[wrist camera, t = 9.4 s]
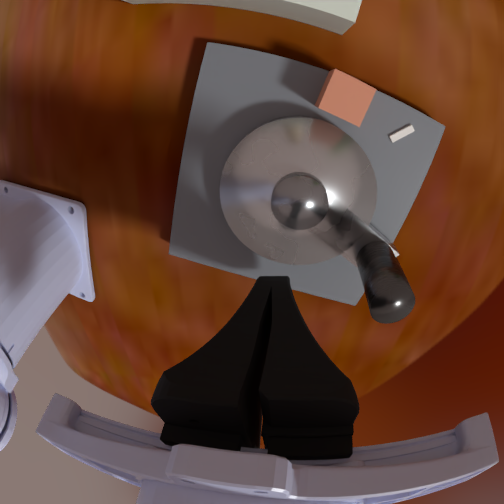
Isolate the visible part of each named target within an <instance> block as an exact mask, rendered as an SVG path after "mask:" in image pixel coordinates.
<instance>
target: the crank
mask: <svg viewBox="0 0 504 504" xmlns="http://www.w3.org/2000/svg"><path fill="white" fill-rule="evenodd" d="M220 201H221V207H222V210H223V214H224V217H225V219H226V221H227V223H228V225H229V227H230V228H231V230H232V231H233V233H234V234H235V235H236V236H237V238H238V239H239V240H240V241H241V242H242V243H243V244H244V245H245V246H247V247H248V248H249V249H251V250H252V251H253V252H255V253H257V254H259V255H260V256H262V257H264V258H267V259H269V260H272V261H275V262H279V263H284V264H290V265H309V264H316V263H320V262H323V261H327V260H329V259H332V258H334V257H336V256H338V255H342V256H343V257H344V258H346V259H347V260H348V261H349V262H351V263H352V264H353V265H355V266H356V267H357V268H358V270H359V273H360V276H361V280H362V283H363V287H364V291H365V294H366V298H367V302H368V305H369V309H370V313H371V316H372V318H373V319H374V320H375V321H377V322H380V323H393V322H397V321H399V320H401V319H403V318H404V317H406V316H407V315H408V314H409V313H410V312H411V310H412V309H413V307H414V304H415V296H414V294H413V292H412V289H411V287H410V285H409V283H408V281H407V278H406V276H405V274H404V272H403V270H402V268H401V266H400V264H399V262H398V260H397V258H396V257H397V256H398V255H399V253H398V251H397V249H396V247H395V245H394V244H393V243H391V242H390V241H389V240H388V239H387V238H386V237H385V236H384V235H383V234H382V233H381V232H379V231H378V230H377V229H376V228H375V227H374V226H373V225H372V224H370V222H371V220H372V218H373V215H374V212H375V208H376V203H377V182H376V177H375V173H374V170H373V167H372V165H371V162H370V161H369V159H368V157H367V155H366V153H365V152H364V151H363V149H362V148H361V147H360V146H359V144H358V143H357V142H356V141H355V140H354V139H353V138H351V137H350V136H349V135H348V134H347V133H345V132H344V131H342V130H341V129H340V128H338V127H336V126H334V125H333V124H331V123H328V122H326V121H323V120H320V119H316V118H312V117H304V116H290V117H283V118H278V119H275V120H272V121H269V122H266V123H264V124H262V125H260V126H258V127H257V128H255V129H254V130H253V131H251V132H250V133H249V134H247V135H246V136H245V137H244V138H243V139H242V140H241V141H240V142H239V144H238V145H237V146H236V147H235V148H234V150H233V151H232V153H231V154H230V156H229V158H228V159H227V161H226V164H225V166H224V169H223V172H222V176H221V181H220Z"/></svg>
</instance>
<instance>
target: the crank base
mask: <svg viewBox="0 0 504 504" xmlns="http://www.w3.org/2000/svg"><path fill="white" fill-rule="evenodd" d="M290 116H304V117H312V118H316V119H320V120H323V121H326V122H328V123H331V124H333V125H334V126H336V127H338V128H340V129H341V130H342V131H344V132H345V133H347V134H348V135H349V136H350V137H351V138H353V139H354V140H355V141H356V142H357V143H358V144H359V146H360V147H361V148H362V149H363V151H364V152H365V153H366V155H367V157H368V159H369V161H370V162H371V165H372V167H373V170H374V173H375V177H376V182H377V203H376V208H375V212H374V215H373V218H372V220H371V222H370V224H372V225H373V226H374V227H375V228H376V229H377V230H378V231H379V232H381V233H382V234H383V235H384V236H385V237H386V238H387V239H388V240H389V241H390V242H391V243H393V241H394V240H395V238H396V236H397V234H398V232H399V230H400V228H401V226H402V224H403V222H404V221H405V219H406V217H407V215H408V213H409V211H410V209H411V206H412V204H413V202H414V200H415V198H416V196H417V194H418V192H419V190H420V187H421V185H422V183H423V181H424V179H425V176H426V174H427V172H428V169H429V167H430V165H431V162H432V160H433V158H434V155H435V153H436V150H437V148H438V145H439V142H440V140H441V137H442V135H443V132H444V129H445V126H443V125H442V124H440V123H438V122H437V121H435V120H433V119H432V118H430V117H428V116H426V115H425V114H423V113H421V112H419V111H417V110H416V109H414V108H412V107H410V106H408V105H406V104H404V103H402V102H400V101H398V100H396V99H394V98H392V97H390V96H388V95H386V94H384V93H382V92H379V91H377V89H375V88H373V87H371V86H369V85H367V84H366V83H364V82H362V81H360V80H358V79H356V78H354V77H352V76H350V75H348V74H345V73H343V72H341V71H339V70H337V69H333V70H331V71H327V70H324V69H321V68H318V67H315V66H312V65H309V64H306V63H302V62H299V61H295V60H292V59H288V58H285V57H281V56H277V55H273V54H269V53H265V52H260V51H256V50H251V49H246V48H241V47H236V46H230V45H224V44H217V43H211V42H207V46H206V50H205V53H204V57H203V61H202V65H201V69H200V73H199V77H198V81H197V85H196V90H195V94H194V98H193V103H192V107H191V112H190V117H189V122H188V127H187V132H186V137H185V143H184V148H183V154H182V159H181V165H180V172H179V178H178V184H177V191H176V198H175V205H174V213H173V221H172V229H171V238H170V247H169V254H171V255H174V256H177V257H181V258H184V259H187V260H191V261H194V262H198V263H201V264H204V265H208V266H211V267H215V268H218V269H222V270H225V271H229V272H232V273H236V274H239V275H243V276H246V277H250V278H253V279H258V277H260V276H288V277H289V278H290V285H291V289H293V290H297V291H301V292H305V293H308V294H312V295H316V296H320V297H323V298H327V299H331V300H335V301H339V302H343V303H347V304H351V305H355V306H356V304H357V302H358V301H359V299H360V298H361V296H362V295H363V293H364V287H363V283H362V280H361V276H360V273H359V270H358V268H357V267H356V266H355V265H353V264H352V263H351V262H349V261H348V260H347V259H346V258H344V257H343V256H342V255H338V256H336V257H334V258H332V259H329V260H327V261H323V262H320V263H316V264H309V265H290V264H284V263H279V262H275V261H272V260H269V259H267V258H264V257H262V256H260V255H259V254H257V253H255V252H253V251H252V250H251V249H249V248H248V247H247V246H245V245H244V244H243V243H242V242H241V241H240V240H239V239H238V238H237V236H236V235H235V234H234V233H233V231H232V230H231V228H230V227H229V225H228V223H227V221H226V219H225V217H224V214H223V210H222V207H221V201H220V181H221V176H222V172H223V169H224V166H225V164H226V161H227V159H228V158H229V156H230V154H231V153H232V151H233V150H234V148H235V147H236V146H237V145H238V144H239V142H240V141H241V140H242V139H243V138H244V137H245V136H246V135H247V134H249V133H250V132H251V131H253V130H254V129H255V128H257V127H258V126H260V125H262V124H264V123H266V122H269V121H272V120H275V119H278V118H283V117H290Z"/></svg>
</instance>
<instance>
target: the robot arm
mask: <svg viewBox="0 0 504 504" xmlns="http://www.w3.org/2000/svg"><path fill="white" fill-rule="evenodd" d="M72 208H73V209H72ZM68 293H70V294H72V295H75V296H77V297H79V298H81V299H84V300H86V301H88V302H93V300H94V299H95V292H94V285H93V278H92V271H91V263H90V254H89V244H88V231H87V215H86V208H85V206H84V205H83V204H82V203H81V202H78V201H75V200H71V199H68V198H64V197H61V196H57V195H54V194H50V193H47V192H43V191H39V190H36V189H32V188H29V187H25V186H22V185H18V184H15V183H11V182H8V181H4V180H0V451H1V450H2V449H3V448H4V447H5V446H6V445H7V443H8V441H9V440H10V438H11V436H12V434H13V431H14V428H15V425H16V419H17V401H16V396H15V394H14V391H13V388H14V386H15V385H16V383H17V381H18V380H19V378H18V377H17V376H16V374H15V373H14V372H13V369H14V368H15V366H16V365H17V363H18V361H19V360H20V358H21V357H22V355H23V354H24V352H25V351H26V349H27V348H28V346H29V345H30V343H31V342H32V340H33V339H34V338H35V336H36V335H37V334H38V332H39V331H40V329H41V328H42V327H43V325H44V324H45V323H46V321H47V320H48V319H49V317H50V316H51V315H52V313H53V312H54V311H55V309H56V308H57V307H58V305H59V304H60V303H61V302H62V300H63V299H64V298H65V297H66V295H67V294H68ZM151 405H152V407H153V409H154V410H155V411H156V413H157V414H158V415H159V416H160V418H161V419H162V420H163V421H164V422H165V424H164V427H163V430H162V433H161V434H160V433H155V432H151V431H147V430H144V429H140V428H136V427H133V426H129V425H126V424H122V423H119V422H116V421H113V420H110V419H107V418H104V417H101V416H98V415H95V414H93V413H90V412H87V411H85V410H82V409H81V407H80V406H79V405H78V404H77V403H75V402H74V401H73V400H71V399H69V398H66V397H64V396H62V395H59V394H57V393H55V394H54V396H53V398H52V400H51V401H50V403H49V405H48V407H47V409H46V411H45V413H44V415H43V417H42V419H41V421H40V423H39V425H38V427H37V429H36V433H37V434H38V435H40V436H41V437H42V438H44V439H45V440H47V441H48V442H49V443H51V444H52V445H54V446H55V447H57V448H58V449H60V450H61V451H62V452H64V453H65V454H67V455H69V456H71V457H73V458H75V459H77V460H79V461H81V462H83V463H85V464H87V465H89V466H91V467H93V468H95V469H98V470H100V471H102V472H104V473H106V474H109V475H111V476H113V477H116V478H118V479H120V480H123V481H125V482H128V483H131V484H133V485H136V486H139V487H141V488H140V491H139V495H138V498H137V502H136V504H391V503H396V502H400V501H404V500H408V499H412V498H416V497H419V496H422V495H426V494H429V493H432V492H435V491H439V490H442V489H445V488H447V487H450V486H453V485H456V484H459V483H461V482H464V481H466V480H469V479H470V478H472V477H474V476H476V475H478V474H480V473H481V472H483V471H485V470H487V469H488V468H490V467H491V466H493V465H495V464H496V463H498V461H499V458H498V453H497V449H496V444H495V440H494V435H493V431H492V427H491V423H490V420H489V416H488V413H483V414H480V415H477V416H474V417H471V418H468V419H466V420H464V421H462V422H461V423H460V424H458V425H457V426H456V428H455V429H452V430H448V431H445V432H441V433H437V434H433V435H429V436H424V437H420V438H415V439H410V440H405V441H399V442H393V443H387V444H380V445H372V446H364V447H352V435H353V432H354V431H353V423H354V421H355V419H356V417H357V415H358V413H359V403H358V399H357V395H356V392H355V390H354V387H353V385H352V382H351V380H350V379H349V378H348V377H346V376H345V375H344V374H343V373H342V372H341V371H340V370H339V369H338V368H337V366H336V365H335V364H334V363H333V362H332V361H331V360H330V359H329V357H328V356H327V355H326V353H325V352H324V351H323V350H322V348H321V347H320V346H319V344H318V343H317V341H316V340H315V338H314V337H313V335H312V334H311V332H310V330H309V329H308V327H307V325H306V323H305V321H304V319H303V317H302V315H301V313H300V311H299V309H298V306H297V304H296V302H295V299H294V296H293V293H292V290H291V285H290V278H289V277H288V276H260V277H258V279H257V281H256V283H255V284H254V286H253V288H252V290H251V291H250V293H249V295H248V296H247V298H246V299H245V301H244V302H243V303H242V305H241V306H240V308H239V309H238V310H237V312H236V313H235V314H234V315H233V317H232V318H231V319H230V320H229V321H228V323H227V324H226V325H225V326H224V327H223V328H222V329H221V330H220V331H219V332H218V333H217V334H216V335H215V336H214V337H213V338H212V339H211V340H210V341H209V342H207V343H206V344H205V345H204V346H203V347H201V348H200V349H199V350H197V351H196V352H195V353H193V354H192V355H191V356H189V357H188V358H186V359H185V360H183V361H182V362H180V363H178V364H177V365H175V366H173V367H172V368H170V369H168V370H166V371H164V372H163V374H162V376H161V378H160V380H159V382H158V384H157V386H156V389H155V391H154V394H153V397H152V399H151ZM262 415H263V424H262ZM261 424H262V432H261ZM260 436H263V440H264V445H265V449H260Z"/></svg>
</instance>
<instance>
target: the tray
mask: <svg viewBox="0 0 504 504" xmlns="http://www.w3.org/2000/svg"><path fill="white" fill-rule="evenodd" d="M123 1H126V2H128V3H131V4H143V3H184V4H201V5H213V6H222V7H230V8H237V9H244V10H250V11H256V12H261V13H266V14H271V15H275V16H280V17H284V18H288V19H292V20H296V21H299V22H303V23H307V24H310V25H313V26H317V27H320V28H323V29H326V30H329V31H332V32H335V33H338V34H340V35H343V34H344V33H345V32H346V31H347V30H348V29H349V28H350V27H351V26H352V25H353V24H354V23H355V22H356V18H357V15H358V11H359V8H360V5H361V1H362V0H123Z"/></svg>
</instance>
